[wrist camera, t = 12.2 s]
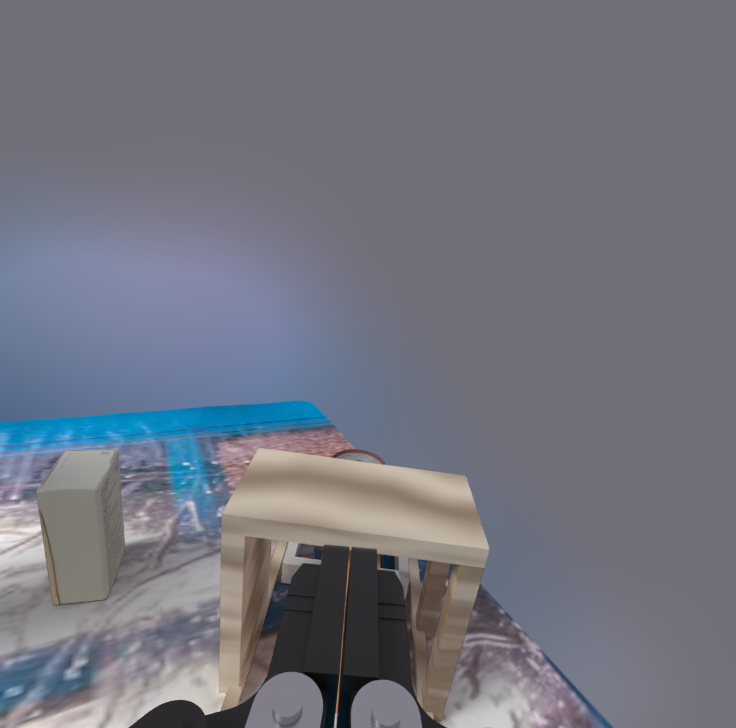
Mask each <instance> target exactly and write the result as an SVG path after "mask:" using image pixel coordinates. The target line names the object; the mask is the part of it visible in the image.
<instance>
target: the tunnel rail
mask: <svg viewBox="0 0 736 728" xmlns="http://www.w3.org/2000/svg"><path fill="white" fill-rule="evenodd" d="M271 540H278V543H277V546H276V549H275V552H274V555H273V558H272V561H271V564H270V555H271ZM288 542H294V543H301V544H309V545H316V546H324V545H336V546H346V547H349V550H351V548H352V547H359V548H370V549H377V554H384V555H391V556H398V557H406V558H408V564H409V578H410V581H409V591H410V606H411V621H412V636H413V651H414V666H415V680H416V695H417V700H418V702H419V704H420V705H421V707H422V708H423V710H424V711H425V712H426V713H427V714H428V715H429V716H430V717H431V718H432V719H433V720H436V721H441V719H442V715H443V712H444V708H445V705H446V701H447V698H448V694H449V691H450V687H451V683H452V680H453V676H454V673H455V669H456V666H457V662H458V659H459V655H460V652H461V648H462V645H463V641H464V638H465V634H466V631H467V627H468V624H469V620H470V617H471V613H472V610H473V606H474V603H475V599H476V596H477V592H478V589H479V585H480V581H481V578H482V574H483V571H484V567H485V564H486V560H487V557H488V553H489V550H490V549H489V546H488V543H487V540H486V537H485V534H484V531H483V528H482V524H481V521H480V518H479V515H478V512H477V509H476V506H475V503H474V500H473V497H472V494H471V490H470V487H469V485H468V481H467V478H466V476H463V475H455V474H449V473H441V472H434V471H426V470H419V469H411V468H404V467H396V466H388V465H382V464H374V463H367V462H359V461H352V460H345V459H337V458H330V457H322V456H315V455H308V454H300V453H293V452H285V451H278V450H270V449H263V448H259V449H258V451H257V452H256V454H255V456H254V458H253V459H252V461H251V463H250V465H249V466H248V468H247V470H246V472H245V474H244V475H243V477H242V479H241V481H240V482H239V484H238V486H237V488H236V489H235V491H234V493H233V495H232V496H231V498H230V500H229V502H228V503H227V505H226V507H225V509H224V510H223V512H222V528H221V592H220V657H219V692H225V693H226V696H225V699H224V702H223V705H222V708H221V711H223V710H227V709H230V708H233V707H236V706H238V705H239V702H240V699H241V696H242V693H243V689H244V686H245V683H246V680H247V676H248V673H249V670H250V666H251V663H252V660H253V657H254V653H255V650H256V647H257V644H258V640H259V637H260V634H261V630H262V627H263V624H264V621H265V617H266V614H267V611H268V608H269V604H270V601H271V598H272V594H273V591H274V588H275V585H276V581H277V578H278V575H279V572H280V568H281V565H282V562H283V558H284V555H285V552H286V549H287V545H288ZM418 559H421V560H428V563H427V567H426V571H425V576H424V580H423V585H422V589H421V586H420V576H419V566H418ZM450 563H451V564H453V566H452V570H451V574H450V578H449V582H448V586H447V590H446V594H445V598H444V602H443V606H442V610H441V614H440V618H439V622H438V626H437V630H436V634H435V638H434V642H433V646H432V650H431V654H430V658H429V662H428V658H427V647H426V638H427V639H432V635H433V631H434V627H435V623H436V619H437V615H438V611H439V607H440V603H441V599H442V595H443V591H444V587H445V583H446V579H447V575H448V571H449V567H450Z"/></svg>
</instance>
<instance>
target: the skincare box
mask: <svg viewBox="0 0 736 728" xmlns="http://www.w3.org/2000/svg"><path fill="white" fill-rule="evenodd" d="M36 494H37V501H38V507H39V514H40V522H41V528H42V535H43V542H44V549H45V556H46V563H47V570H48V577H49V583H50V590H51V596H52V603H53V605H58V604H68V603H78V602H87V601H96V600H104V599H106V598H107V597H108V595H109V593H110V590H111V587H112V585H113V582H114V580H115V577H116V574H117V571H118V568H119V566H120V563H121V560H122V557H123V554H124V551H125V540H124V525H123V510H122V496H121V481H120V467H119V452H118V449H81V450H66V451H65V452H64V453H63V454H62V456H61V457H60V458H59V459H58V461H57V462H56V464H55V465H54V466H53V467H52V469H51V471H50V472H49V473H48V475H47V476H46V477H45V479H44V480H43V482H42V483H41V485H40V486H39V488H38V489H37V491H36Z"/></svg>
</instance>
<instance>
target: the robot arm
mask: <svg viewBox="0 0 736 728" xmlns="http://www.w3.org/2000/svg"><path fill="white" fill-rule="evenodd" d="M348 560H349V547H346V546H336V545H324V549H323V555H322V561H321V565H320V564H309V563H303V564H302V565H301V566H300V567H299V569H298V570H297V571H296V572H295V574H294V575H293V576H292V578H291V582H290V586H289V591H288V595H287V599H286V603H285V607H284V612H283V615H282V619H281V623H280V627H279V631H278V635H277V640H276V644H275V648H274V652H273V656H272V660H271V664H270V668H269V672H268V675H267V677H266V679H265V681H264V683H263V684H262V686H261V687H260V689H259V690H258V691H257V692H256V693H255V694H254V695H253V696H252V697H251V698H250V699H248V700H247V701H245V702H244V703H242V704H240V705H238V706H236V707H233V708H230V709H227V710H223V711H220V712H216V713H212V714H209V715H204V713H203V711H202V710H201V709H200V707H199V706H197V705H196V704H194V703H192V702H190V701H185V700H174V701H170V702H166V703H164V704H161V705H159V706H157V707H156V708H154V709H152V710H151V711H150V712H148V713H147V714H146V715H144V716H143V717H142V718H141V719H139V720H138V721H137V722H135V723H134V724H133V725H132V726H130V727H129V728H334V722H335V713H336V703H337V694H338V685H339V697H338V710H337V723H336V728H446V727H444V726H442V725H441V724H439V723H437V722H436V721H435V720H433V719H432V718H431V717H430V716H429V715H428V714H427V713H426V712H425V711H424V710H423V708H422V707H421V705H420V704H419V702H418V700H417V698H416V696H415V694H414V690H413V686H412V679H411V668H410V657H409V645H408V634H407V624H406V611H405V600H404V589H403V586H402V584H401V582H400V580H399V578H398V577H397V575H396V573H395V571H388V570H377V549H370V548H359V547H352V548H351V557H350V567H349V576H348V586H347V573H348ZM346 586H347V596H346ZM345 599H346V606H345ZM344 611H345V619H344ZM343 624H344V632H343ZM342 637H343V645H342ZM341 650H342V658H341ZM340 663H341V671H340ZM339 675H340V684H339Z"/></svg>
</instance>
